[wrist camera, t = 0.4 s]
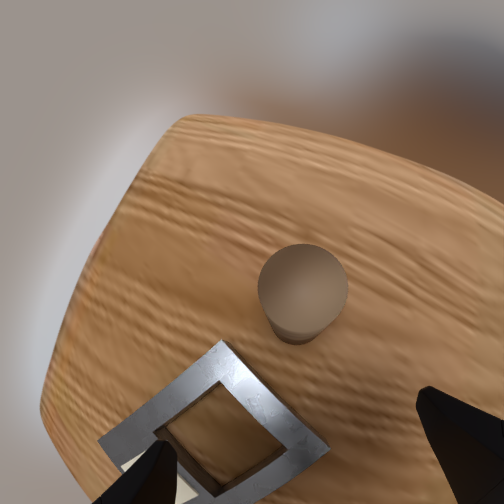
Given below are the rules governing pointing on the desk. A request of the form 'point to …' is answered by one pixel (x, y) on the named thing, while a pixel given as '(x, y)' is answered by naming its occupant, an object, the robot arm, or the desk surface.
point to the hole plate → (252, 398)
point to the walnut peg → (302, 291)
